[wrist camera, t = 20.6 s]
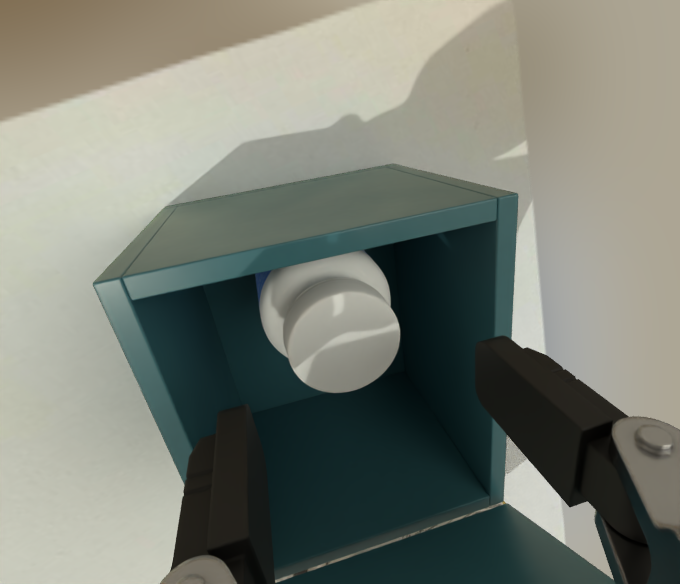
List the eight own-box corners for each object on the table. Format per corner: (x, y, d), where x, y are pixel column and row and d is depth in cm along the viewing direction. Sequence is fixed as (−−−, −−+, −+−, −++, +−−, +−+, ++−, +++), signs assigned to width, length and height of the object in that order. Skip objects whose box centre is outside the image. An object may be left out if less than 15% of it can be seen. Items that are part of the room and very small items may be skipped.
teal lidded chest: (164, 206, 21) (90, 283, 11) (394, 163, 24) (519, 192, 13) (236, 418, 28) (234, 595, 17) (411, 370, 30) (504, 502, 20)
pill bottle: (246, 294, 22) (248, 406, 13) (262, 199, 20) (275, 258, 11) (338, 305, 23) (394, 413, 15) (360, 219, 22) (438, 283, 13)
